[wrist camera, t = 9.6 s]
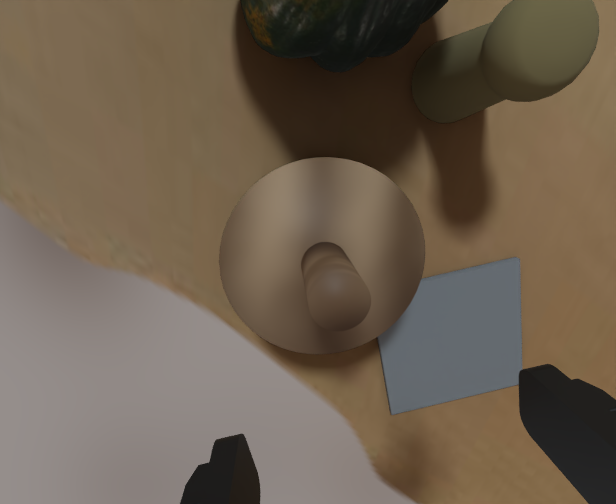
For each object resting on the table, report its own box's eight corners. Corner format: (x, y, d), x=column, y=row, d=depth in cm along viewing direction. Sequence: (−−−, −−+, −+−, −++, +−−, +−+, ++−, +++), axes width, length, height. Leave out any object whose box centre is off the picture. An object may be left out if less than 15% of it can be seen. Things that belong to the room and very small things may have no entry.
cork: (442, 139, 27) (544, 132, 17) (395, 80, 26) (476, 32, 15) (500, 83, 26) (647, 38, 16) (456, 18, 25) (586, -79, 14)
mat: (515, 257, 31) (519, 259, 30) (518, 379, 35) (522, 383, 35) (369, 291, 31) (370, 293, 30) (389, 410, 35) (391, 415, 34)
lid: (407, 135, 22) (464, 128, 15) (428, 323, 26) (481, 383, 19) (194, 183, 21) (156, 198, 15) (251, 364, 25) (242, 440, 19)
